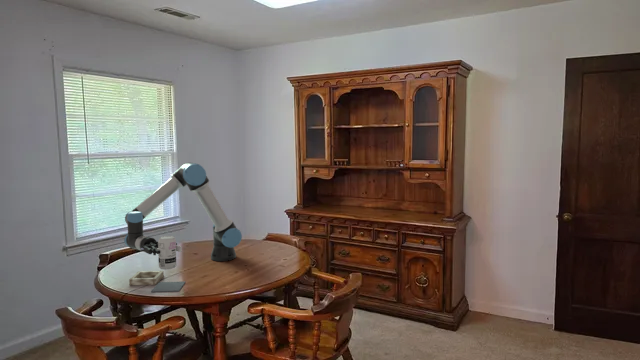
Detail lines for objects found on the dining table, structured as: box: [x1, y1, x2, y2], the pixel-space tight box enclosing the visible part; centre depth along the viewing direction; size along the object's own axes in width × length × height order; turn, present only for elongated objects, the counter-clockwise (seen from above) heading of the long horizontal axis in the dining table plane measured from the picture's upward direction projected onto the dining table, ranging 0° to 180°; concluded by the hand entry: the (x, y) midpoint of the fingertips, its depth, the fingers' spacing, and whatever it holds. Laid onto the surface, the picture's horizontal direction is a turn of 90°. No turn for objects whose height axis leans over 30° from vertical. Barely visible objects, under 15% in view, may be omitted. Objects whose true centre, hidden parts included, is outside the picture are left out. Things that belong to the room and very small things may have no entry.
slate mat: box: [150, 281, 186, 293], centre depth 208 cm, size 13×13×1 cm
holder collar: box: [128, 270, 165, 286], centre depth 218 cm, size 13×13×3 cm
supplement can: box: [157, 235, 178, 271], centre depth 207 cm, size 8×8×15 cm
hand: (173, 251), depth 204 cm, fingers closed on supplement can, 8 cm apart
